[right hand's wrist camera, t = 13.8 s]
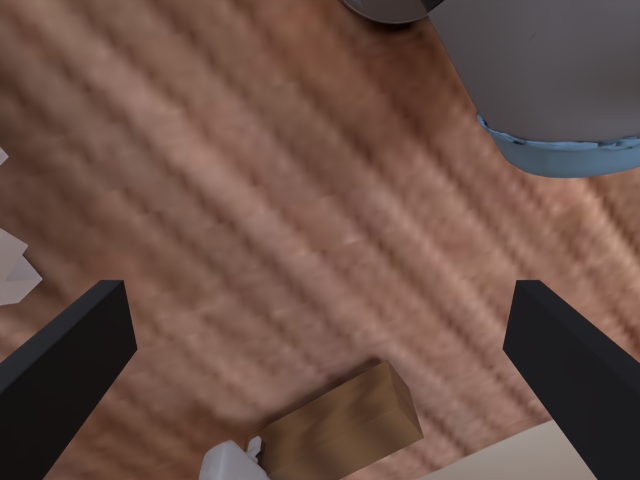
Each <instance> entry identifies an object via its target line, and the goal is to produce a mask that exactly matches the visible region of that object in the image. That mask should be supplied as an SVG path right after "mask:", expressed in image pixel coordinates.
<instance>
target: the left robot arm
mask: <svg viewBox="0 0 640 480" xmlns="http://www.w3.org/2000/svg"><path fill="white" fill-rule="evenodd" d="M265 446H266V443H265V442H264V441H263V440H262V439H261V438H260V437H259V436H257V437H255V438H253V439H252V440H251V441H250V442H249V445H248V450H247V452H246V453H245V452H244V451H243V450H242V449H241V448H240V447H239V446H238V445H237V444H236V443H235V442H234V441H232V440H228V441H225V442H222V443H220V444H218V445H216V446H215V447H213V448H211V449H210V450H209V451H208V452H206V454H205V456H204V458H203V461H202V465H201V470H200V474H199V479H198V480H271V479H270V478H269V477H268V476H267V473H266V472H265V471H264V470H263V469H262V468H261V467H260V466H259V465H258V464H257V463H258V459H257V458H256V457H258V456H259V455H262V454H264V453H265Z"/></svg>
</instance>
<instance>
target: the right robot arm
mask: <svg viewBox="0 0 640 480" xmlns="http://www.w3.org/2000/svg"><path fill="white" fill-rule="evenodd" d="M339 1H340V2H341V3H342V4H343V5H344V6H345V7H347V8H348V9H349V10H350V11H351V12H353V13H354V14H356V15H357V16H359V17H361V18H363V19H365V20H368V21H370V22H373V23H377V24H382V25H403V24H409V23H413V22H416V21H419V20H421V19H423V18H425V17H427V16H428V17H429V19H430V21H431V23H432V25H433V27H434V29H435V31H436V32H437V34H438V36H439V38H440V40H441V42H442V44H443V46H444V48H445V50H446V52H447V54H448V55H449V57H450V59H451V61H452V63H453V65H454V67H455V69H456V71H457V73H458V75H459V77H460V78H461V80H462V82H463V84H464V86H465V88H466V90H467V92H468V94H469V96H470V98H471V100H472V101H473V103H474V105H475V107H476V109H477V111H478V112H477V117H478V120H479V122H480V123H481V125H482V127H483V128H484V129H485V130H487V131H488V132H489V133H490V134H491V136H492V138H493V139H494V141H495V143H496V144H497V146H498V148H499V150H500V151H501V153H502V154H503V156H504V157H505V159H506V160H507V161H508V162H509V163H511V164H513V165H515V166H517V167H518V168H519V169H521V170H523V171H525V172H527V173H530V174H534V175H538V176H544V177H552V178H580V177H591V176H599V175H605V174H610V173H616V172H620V171H625V170H629V169H633V168H636V167H640V0H339ZM136 350H137V344H136V340H135V335H134V330H133V325H132V320H131V315H130V310H129V305H128V300H127V295H126V290H125V285H124V280H100V281H99V282H98V283H97V284H95V285H94V286H93V287H92V288H90V289H89V290H88V291H87V292H86V293H84V294H83V295H82V296H81V297H80V298H78V299H77V300H76V301H75V302H74V303H72V304H71V305H70V306H69V307H68V308H66V309H65V310H64V311H63V312H62V313H60V314H59V315H58V316H57V317H55V318H54V319H53V320H52V321H51V322H49V323H48V324H47V325H46V326H45V327H43V328H42V329H41V330H40V331H39V332H37V333H36V334H35V335H34V336H33V337H31V338H30V339H29V340H28V341H27V342H25V343H24V344H23V345H22V346H20V347H19V348H18V349H17V350H16V351H14V352H13V353H12V354H11V355H10V356H8V357H7V358H6V359H5V360H4V361H2V362H1V363H0V480H43V478H44V477H45V475H46V474H47V473H48V471H49V470H50V469H51V467H52V466H53V464H54V463H55V462H56V460H57V459H58V458H59V456H60V455H61V453H62V452H63V451H64V449H65V448H66V447H67V445H68V444H69V442H70V441H71V440H72V438H73V437H74V436H75V434H76V433H77V431H78V430H79V429H80V427H81V426H82V425H83V423H84V422H85V421H86V419H87V418H88V416H89V415H90V414H91V412H92V411H93V410H94V408H95V407H96V405H97V404H98V403H99V401H100V400H101V399H102V397H103V396H104V394H105V393H106V392H107V390H108V389H109V388H110V386H111V385H112V383H113V382H114V381H115V379H116V378H117V377H118V375H119V374H120V372H121V371H122V370H123V368H124V367H125V366H126V364H127V363H128V361H129V360H130V359H131V357H132V356H133V355H134V353H135V352H136ZM503 350H504V352H505V353H506V355H507V356H508V357H509V359H510V360H511V361H512V363H513V364H514V366H515V367H516V368H517V370H518V371H519V372H520V374H521V375H522V377H523V378H524V379H525V381H526V382H527V383H528V385H529V386H530V388H531V389H532V390H533V392H534V393H535V394H536V396H537V397H538V399H539V400H540V401H541V403H542V404H543V405H544V407H545V408H546V410H547V411H548V412H549V414H550V415H551V416H552V418H553V419H554V421H555V422H556V423H557V425H558V426H559V427H560V429H561V430H562V431H563V433H564V434H565V436H566V437H567V438H568V440H569V441H570V442H571V444H572V445H573V447H574V448H575V449H576V451H577V452H578V453H579V455H580V456H581V458H582V459H583V460H584V462H585V463H586V464H587V466H588V467H589V469H590V470H591V471H592V473H593V474H594V475H595V477H596V478H597V480H640V363H639V362H638V361H636V360H635V359H634V358H633V357H632V356H630V355H629V354H628V353H627V352H626V351H624V350H623V349H622V348H621V347H619V346H618V345H617V344H616V343H615V342H613V341H612V340H611V339H610V338H609V337H607V336H606V335H605V334H604V333H603V332H601V331H600V330H599V329H598V328H597V327H595V326H594V325H593V324H592V323H591V322H589V321H588V320H587V319H586V318H585V317H583V316H582V315H581V314H580V313H578V312H577V311H576V310H575V309H574V308H572V307H571V306H570V305H569V304H568V303H566V302H565V301H564V300H563V299H562V298H560V297H559V296H558V295H557V294H556V293H554V292H553V291H552V290H551V289H550V288H548V287H547V286H546V285H545V284H543V283H542V282H541V281H540V280H516V285H515V290H514V295H513V300H512V305H511V310H510V315H509V320H508V325H507V330H506V335H505V340H504V344H503Z"/></svg>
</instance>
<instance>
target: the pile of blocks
mask: <svg viewBox="0 0 640 480" xmlns="http://www.w3.org/2000/svg"><path fill="white" fill-rule="evenodd" d="M8 157H9V156H8V155H7V154H6V153H5V152H4V151H3V150H2V148H1V147H0V165H1V164H2V163H3V162H4V161H5V160H6V159H7V158H8ZM28 246H29V245H27V244H26V243H24V242H22V241H21V240H19V239H17V238H16V237H14V236H12V235H11V234H9V233H7V232H6V231H4V230H3V229H1V228H0V305H6V304H14V303H19V302H20V301H21V300H22V299H23V298H24V297H25V296H26V295H27V294H28V293H29V292H30V291H31V290H32V289H33V288H34V287H35V286H36V285H37V284H38V283H39V282H40V281H42V280H43V279H42V278H41V276H40V275H39V274H38V273H37V272H36V270H35V269H34V268H33V267H32V266H31V265H30V263H29V262H28V261H27V260H26V259H25V258H24V256H23V255H22V254H23V253H24V251H25V250H26V248H27V247H28Z"/></svg>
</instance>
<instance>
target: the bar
mask: <svg viewBox="0 0 640 480" xmlns="http://www.w3.org/2000/svg"><path fill="white" fill-rule="evenodd" d="M257 436H259V437H260V438H261V439H262V440H263V441H264V442H265V443H266V446H265V453H264V454H262V455H259V456H258V457H256V458H257V459H258V463H257V464H258V465H259V466H260V467H261V468H262V469H263V470H264V471H265V472H266V473H267V476H268V477H269V478H270V479H271V480H339V479H341V478H343V477H345V476H347V475H349V474H351V473H353V472H355V471H357V470H359V469H361V468H363V467H365V466H368V465H370V464H372V463H374V462H376V461H378V460H380V459H382V458H384V457H386V456H388V455H390V454H392V453H394V452H396V451H398V450H400V449H402V448H404V447H406V446H408V445H410V444H412V443H414V442H416V441H418V440H420V439H422V438H424V437H423V434H422V430H421V427H420V424H419V421H418V417H417V414H416V411H415V407H414V404H413V401H412V398H411V394H410V391H409V388H408V386H407V385H406V384H405V382H404V381H403V380H402V379H401V377H400V376H399V375H398V373H397V372H396V371H395V370H394V368H393V367H392V366H391V364H390V363H389V362H388V361H387V360H385V361H384V362H382V363H380V364H378V365H376V366H375V367H373V368H371V369H369V370H367V371H366V372H364V373H362V374H360V375H358V376H356V377H355V378H353V379H351V380H349V381H347V382H346V383H344V384H342V385H340V386H338V387H337V388H335V389H333V390H331V391H329V392H328V393H326V394H324V395H322V396H320V397H318V398H317V399H315V400H313V401H311V402H309V403H308V404H306V405H304V406H302V407H300V408H299V409H297V410H295V411H293V412H291V413H290V414H288V415H286V416H284V417H282V418H281V419H279V420H277V421H275V422H273V423H271V424H270V425H268V426H266V427H264V428H262V429H261V430H259V431H257V432H255V433H253V434H252V435H250V436H248V437H247V439H246V444H245V449H244V452H245V453H246V452H247V450H248V445H249V442H250V441H251V440H252V439H253V438H255V437H257Z"/></svg>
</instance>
